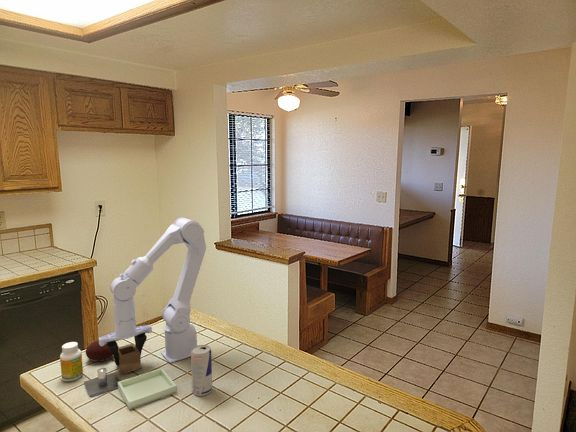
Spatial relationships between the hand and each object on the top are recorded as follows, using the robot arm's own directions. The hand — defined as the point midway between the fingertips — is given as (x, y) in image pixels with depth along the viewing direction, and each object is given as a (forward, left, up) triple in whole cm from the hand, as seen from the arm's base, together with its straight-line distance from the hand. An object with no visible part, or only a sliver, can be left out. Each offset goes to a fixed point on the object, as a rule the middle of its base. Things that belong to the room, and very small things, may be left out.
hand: (127, 361), depth 117 cm
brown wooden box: (0, 0, -2) cm, 2 cm away
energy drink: (-13, +24, -3) cm, 27 cm away
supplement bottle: (+14, -5, -3) cm, 15 cm away
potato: (+5, -11, -3) cm, 12 cm away
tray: (-1, +15, -2) cm, 15 cm away
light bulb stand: (+8, +5, -2) cm, 10 cm away
